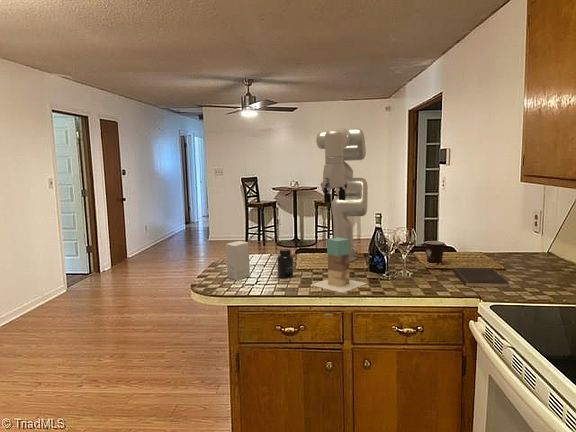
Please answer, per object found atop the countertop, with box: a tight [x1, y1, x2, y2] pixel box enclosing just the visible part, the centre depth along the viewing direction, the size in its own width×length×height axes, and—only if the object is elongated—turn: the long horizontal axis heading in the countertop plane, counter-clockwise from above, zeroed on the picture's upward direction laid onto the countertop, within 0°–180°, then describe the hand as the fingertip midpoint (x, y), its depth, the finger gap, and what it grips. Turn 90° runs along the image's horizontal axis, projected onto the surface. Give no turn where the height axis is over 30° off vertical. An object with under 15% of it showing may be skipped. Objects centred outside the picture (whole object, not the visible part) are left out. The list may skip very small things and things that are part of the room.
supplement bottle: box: [277, 248, 294, 279], centre depth 190 cm, size 7×7×12 cm
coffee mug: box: [422, 240, 445, 264], centre depth 209 cm, size 12×9×10 cm
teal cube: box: [326, 237, 349, 257], centre depth 173 cm, size 6×6×6 cm
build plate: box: [310, 278, 368, 294], centre depth 174 cm, size 16×16×1 cm
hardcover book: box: [452, 267, 510, 288], centre depth 180 cm, size 16×23×2 cm
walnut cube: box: [327, 254, 350, 272], centre depth 173 cm, size 6×6×6 cm
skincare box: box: [225, 240, 251, 281], centre depth 191 cm, size 8×7×16 cm
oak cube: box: [327, 268, 350, 287], centre depth 174 cm, size 6×6×6 cm
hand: (335, 201), depth 187 cm, fingers open, 9 cm apart
